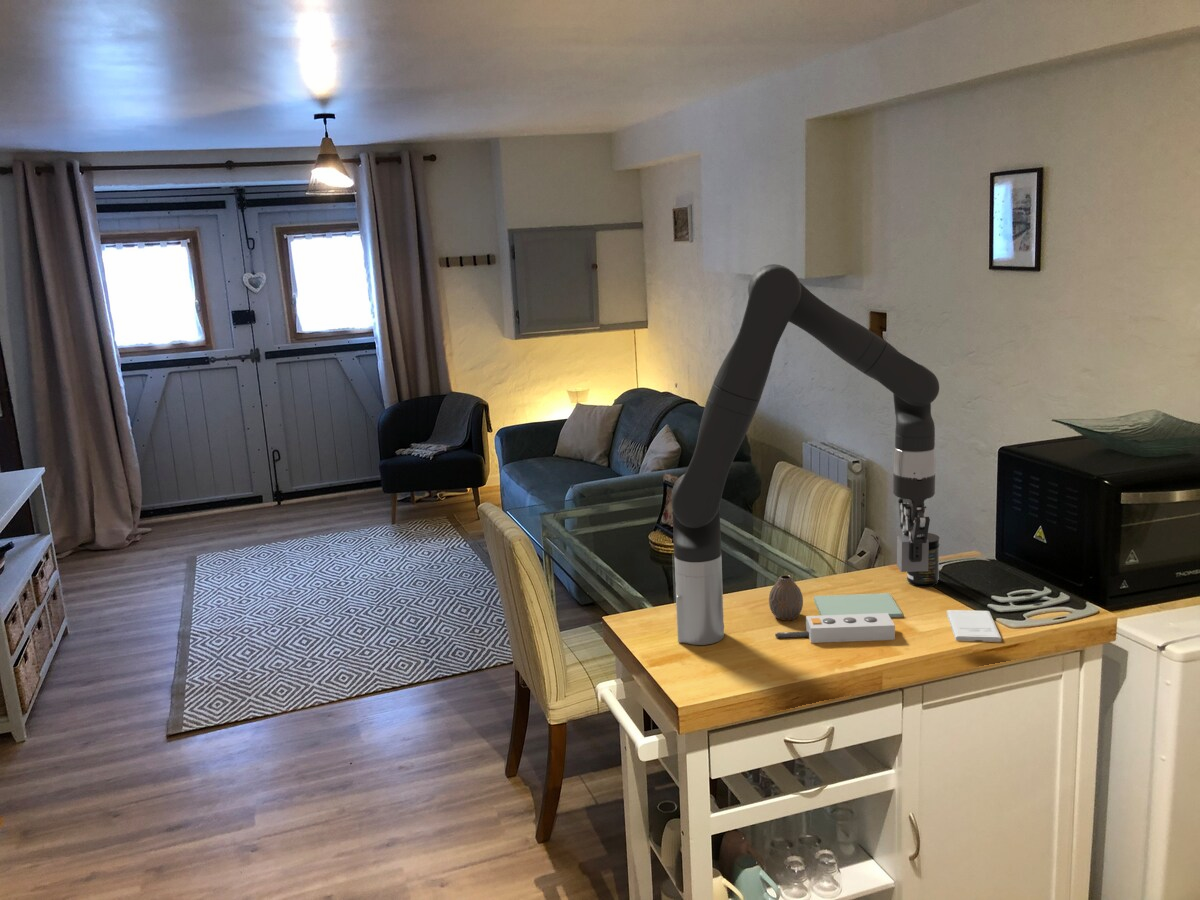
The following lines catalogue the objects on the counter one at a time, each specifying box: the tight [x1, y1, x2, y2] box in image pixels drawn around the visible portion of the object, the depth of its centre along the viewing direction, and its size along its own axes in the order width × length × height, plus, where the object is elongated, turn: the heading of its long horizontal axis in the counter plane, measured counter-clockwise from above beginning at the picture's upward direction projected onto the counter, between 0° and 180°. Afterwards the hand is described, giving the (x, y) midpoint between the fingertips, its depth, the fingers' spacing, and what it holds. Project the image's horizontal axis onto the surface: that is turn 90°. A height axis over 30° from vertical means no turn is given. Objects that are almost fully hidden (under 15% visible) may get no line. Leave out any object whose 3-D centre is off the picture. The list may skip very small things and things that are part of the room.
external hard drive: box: [946, 609, 1002, 643], centre depth 194 cm, size 2×8×12 cm
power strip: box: [774, 613, 896, 644], centre depth 194 cm, size 22×6×3 cm, turn 87°
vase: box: [768, 574, 804, 621], centre depth 203 cm, size 7×7×9 cm
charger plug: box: [896, 535, 929, 573], centre depth 189 cm, size 5×4×6 cm
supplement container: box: [906, 532, 941, 588], centre depth 217 cm, size 7×7×10 cm
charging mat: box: [813, 592, 903, 619], centre depth 206 cm, size 16×11×1 cm
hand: (912, 557), depth 189 cm, fingers closed on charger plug, 3 cm apart
